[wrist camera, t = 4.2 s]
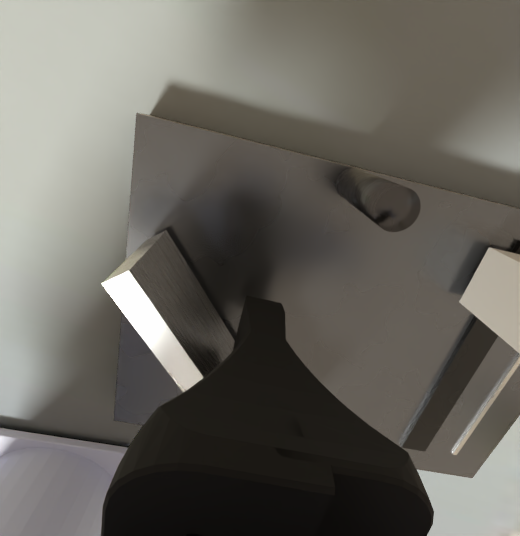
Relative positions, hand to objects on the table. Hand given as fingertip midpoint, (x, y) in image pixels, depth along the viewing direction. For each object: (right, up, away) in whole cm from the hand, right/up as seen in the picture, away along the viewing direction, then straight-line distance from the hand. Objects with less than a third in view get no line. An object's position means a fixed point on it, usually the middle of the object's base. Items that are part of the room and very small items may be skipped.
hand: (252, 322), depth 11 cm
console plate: (+4, -1, +3) cm, 5 cm away
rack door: (-1, -1, +2) cm, 2 cm away
